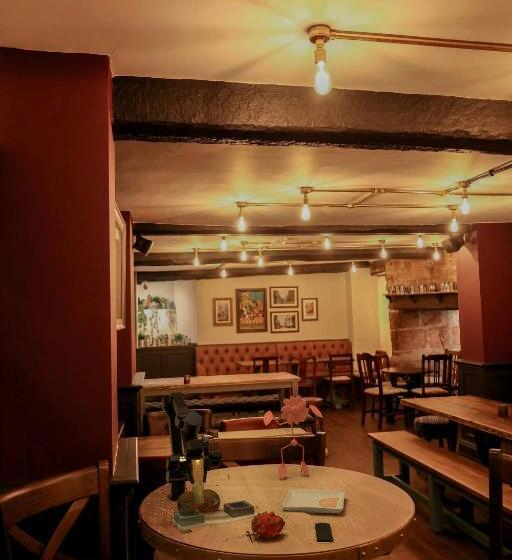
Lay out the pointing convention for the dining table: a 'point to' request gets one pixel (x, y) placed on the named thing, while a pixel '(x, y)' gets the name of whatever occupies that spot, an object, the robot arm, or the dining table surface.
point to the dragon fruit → (267, 525)
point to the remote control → (323, 532)
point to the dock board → (213, 516)
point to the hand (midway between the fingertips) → (198, 483)
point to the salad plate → (312, 500)
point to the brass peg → (198, 480)
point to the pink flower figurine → (295, 414)
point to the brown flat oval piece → (209, 504)
